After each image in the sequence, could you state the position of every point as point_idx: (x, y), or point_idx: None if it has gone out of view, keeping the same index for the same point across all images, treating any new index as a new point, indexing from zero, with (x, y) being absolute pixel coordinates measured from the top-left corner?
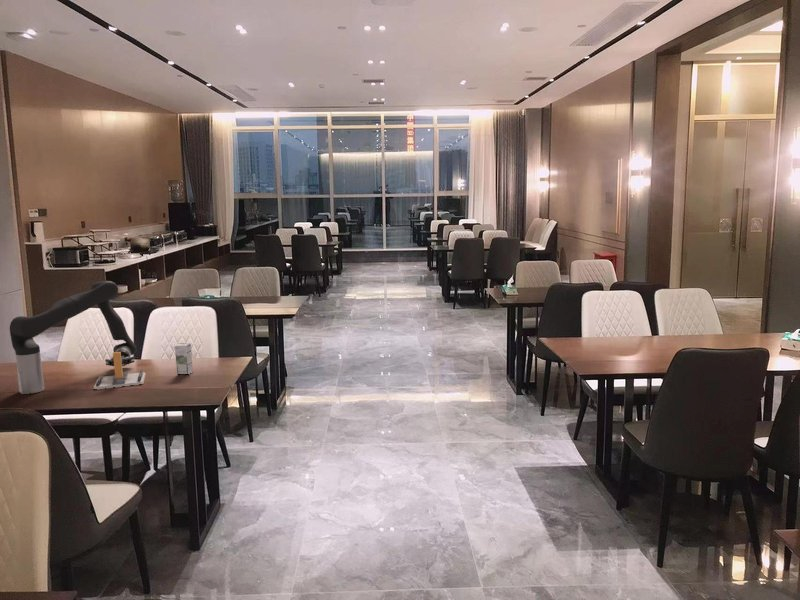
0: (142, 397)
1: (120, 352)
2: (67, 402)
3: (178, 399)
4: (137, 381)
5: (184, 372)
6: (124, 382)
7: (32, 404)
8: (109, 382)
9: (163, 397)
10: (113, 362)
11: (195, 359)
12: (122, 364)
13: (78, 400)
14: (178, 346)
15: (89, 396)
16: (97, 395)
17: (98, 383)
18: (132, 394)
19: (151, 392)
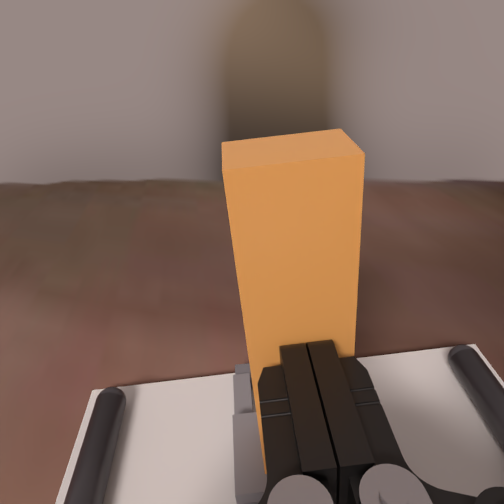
0: (142, 223)
1: (222, 165)
2: (464, 214)
3: (34, 200)
4: (130, 414)
5: None
6: (235, 371)
7: None
8: (406, 456)
9: (70, 215)
10: (464, 498)
11: None
12: None
13: (425, 225)
14: None
15: (404, 258)
16: (364, 264)
17: (453, 348)
18: (181, 252)
19: (93, 261)
